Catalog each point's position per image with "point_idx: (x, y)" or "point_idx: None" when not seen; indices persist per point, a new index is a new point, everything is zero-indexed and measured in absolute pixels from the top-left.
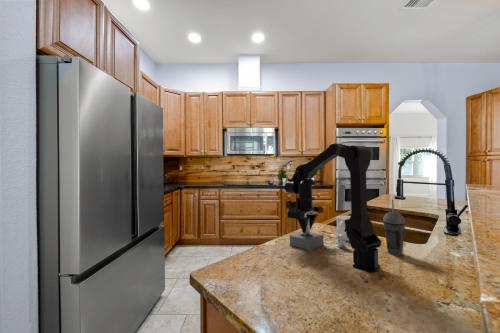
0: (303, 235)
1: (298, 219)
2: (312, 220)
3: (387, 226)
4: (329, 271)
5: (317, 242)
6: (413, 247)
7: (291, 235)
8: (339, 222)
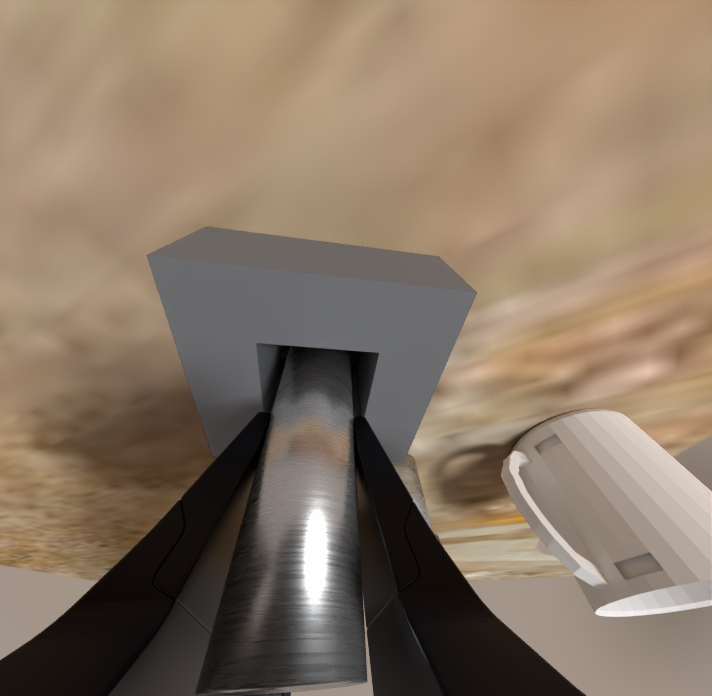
0: (280, 383)
1: (40, 666)
2: (366, 613)
3: None
4: (127, 499)
5: None
6: (496, 548)
7: (175, 273)
8: (613, 550)
